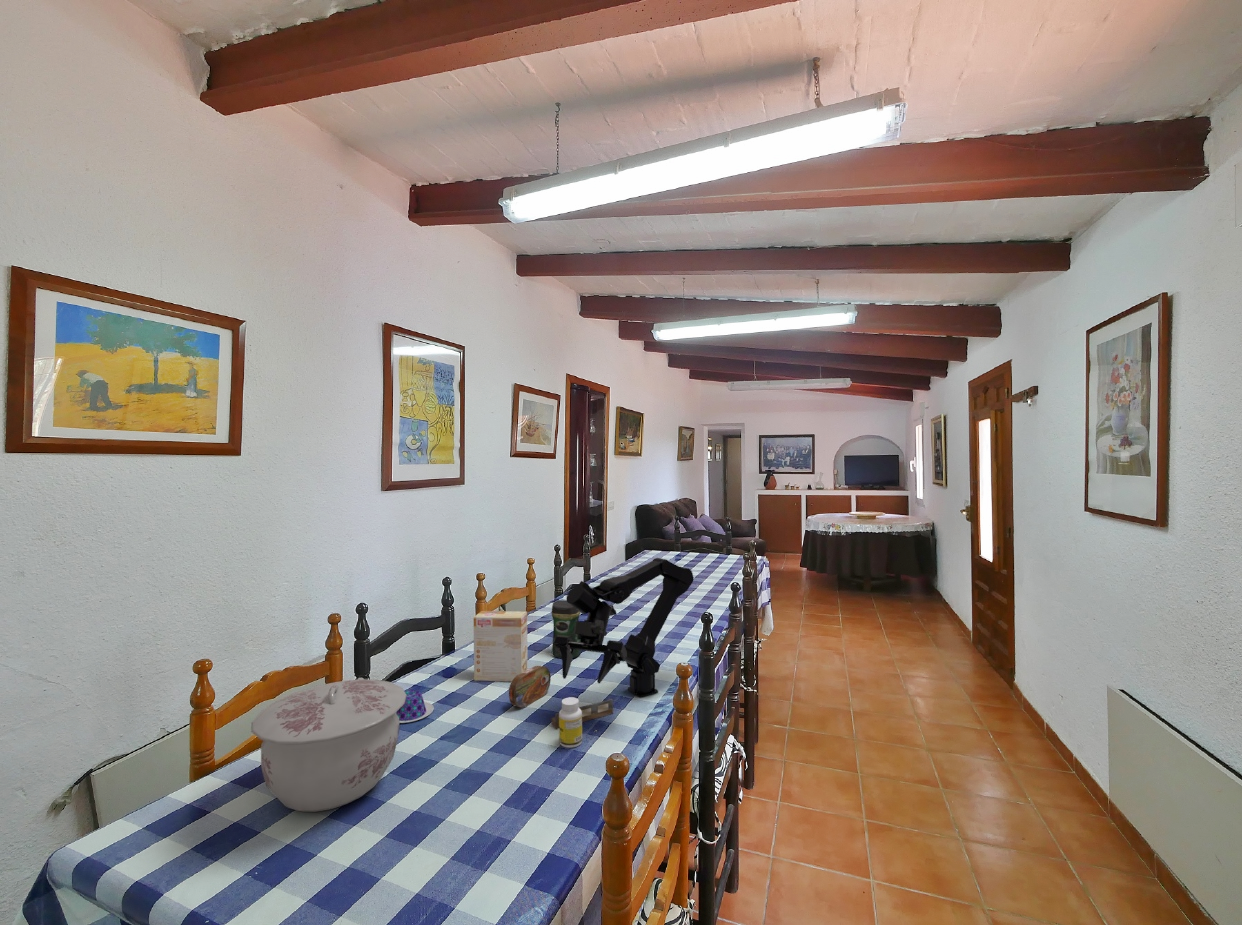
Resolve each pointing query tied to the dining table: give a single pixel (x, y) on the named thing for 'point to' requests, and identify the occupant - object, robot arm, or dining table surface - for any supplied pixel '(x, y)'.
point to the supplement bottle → (570, 723)
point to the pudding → (414, 707)
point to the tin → (529, 686)
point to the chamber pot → (329, 742)
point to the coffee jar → (564, 623)
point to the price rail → (590, 711)
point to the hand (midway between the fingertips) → (580, 680)
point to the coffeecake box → (500, 645)
